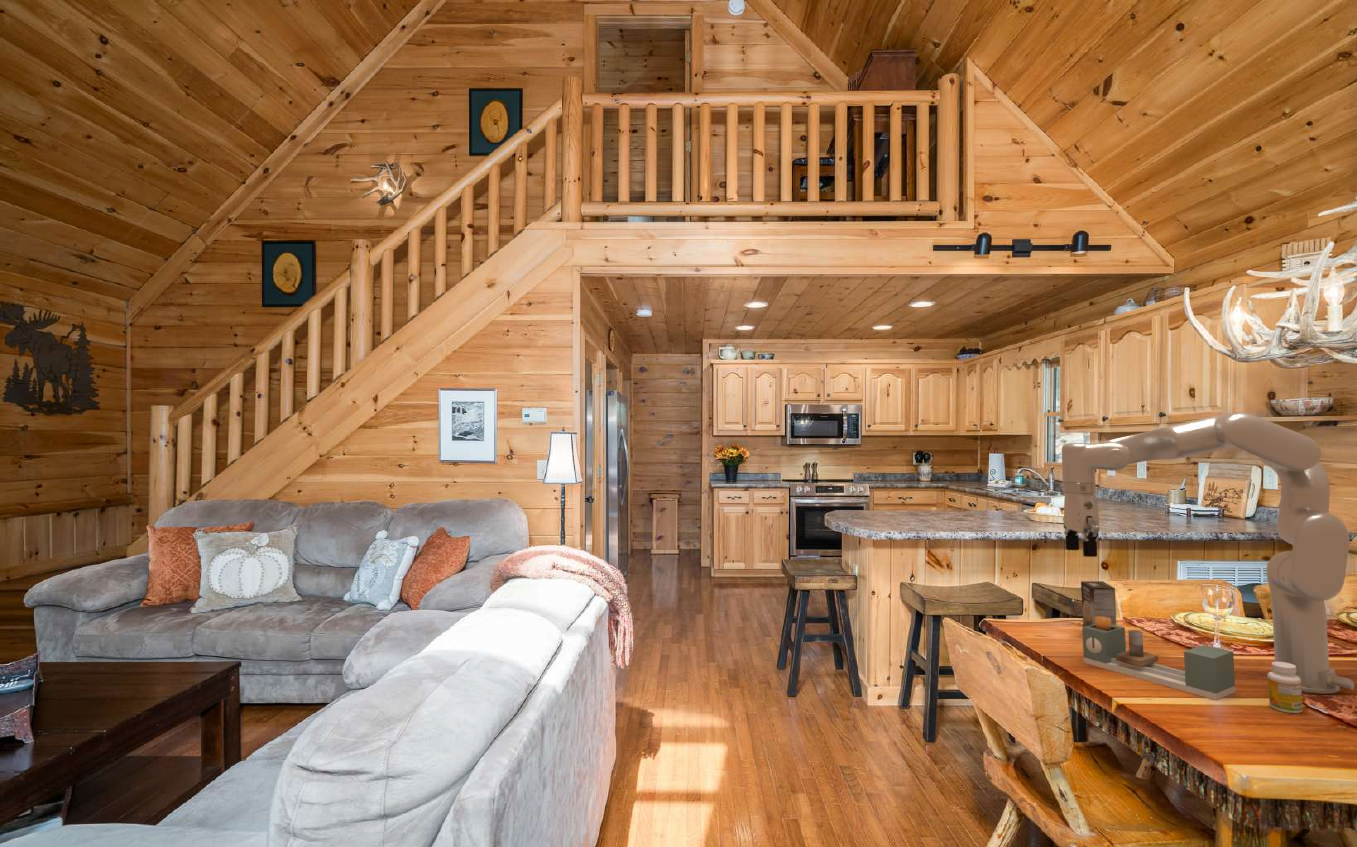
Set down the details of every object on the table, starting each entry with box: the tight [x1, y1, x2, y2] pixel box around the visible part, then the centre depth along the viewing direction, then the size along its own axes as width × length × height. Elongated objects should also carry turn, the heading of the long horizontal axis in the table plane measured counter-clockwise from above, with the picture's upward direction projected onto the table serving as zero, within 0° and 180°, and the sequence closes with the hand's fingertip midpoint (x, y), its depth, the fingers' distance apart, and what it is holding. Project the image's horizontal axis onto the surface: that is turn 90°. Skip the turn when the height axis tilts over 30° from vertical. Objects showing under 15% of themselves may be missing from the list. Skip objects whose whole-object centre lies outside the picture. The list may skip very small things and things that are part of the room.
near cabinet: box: [1183, 644, 1236, 694], centre depth 156 cm, size 7×9×8 cm
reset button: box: [1095, 616, 1111, 631], centre depth 177 cm, size 4×4×3 cm
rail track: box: [1083, 657, 1236, 701], centre depth 166 cm, size 30×9×2 cm, turn 28°
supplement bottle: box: [1267, 661, 1304, 714], centre depth 145 cm, size 5×5×10 cm
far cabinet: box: [1081, 624, 1127, 664], centre depth 176 cm, size 6×10×8 cm, turn 118°
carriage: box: [1115, 629, 1159, 667], centre depth 170 cm, size 6×8×8 cm
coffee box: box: [1080, 580, 1117, 627], centre depth 198 cm, size 9×6×16 cm
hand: (1081, 553), depth 176 cm, fingers open, 9 cm apart
